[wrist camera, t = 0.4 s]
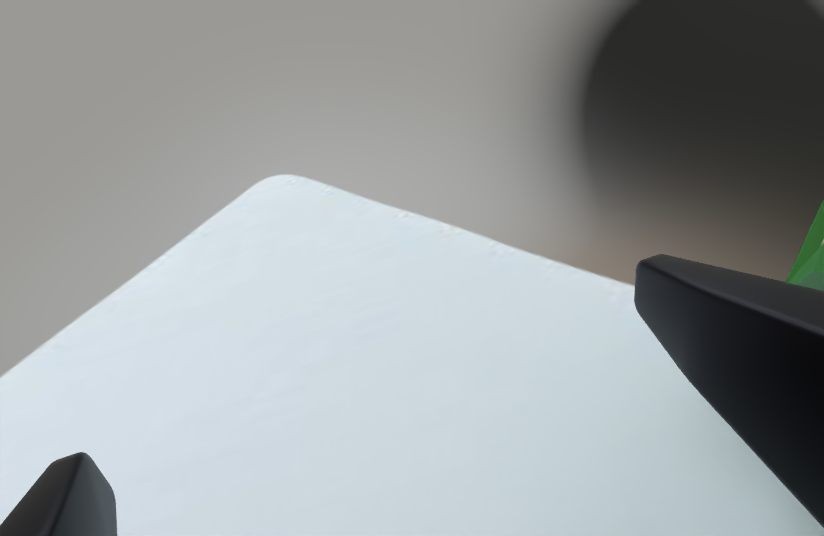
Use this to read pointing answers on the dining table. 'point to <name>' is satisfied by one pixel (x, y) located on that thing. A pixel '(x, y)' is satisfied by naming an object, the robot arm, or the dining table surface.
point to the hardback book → (811, 257)
